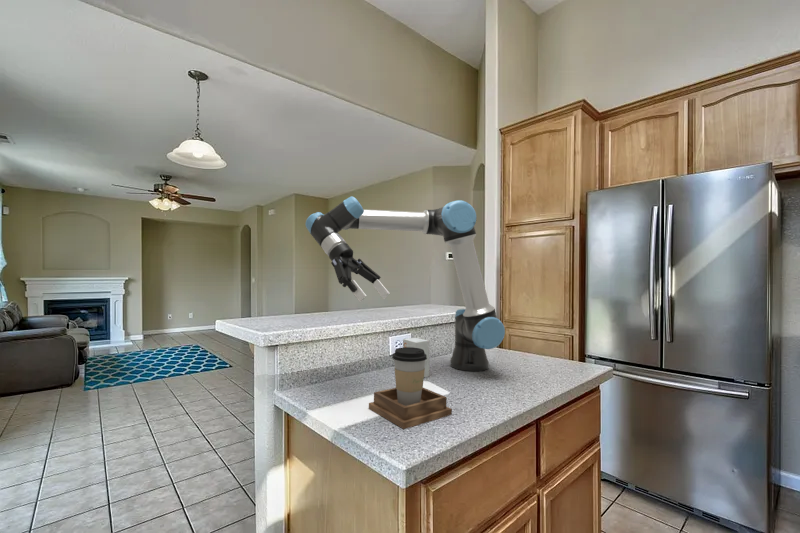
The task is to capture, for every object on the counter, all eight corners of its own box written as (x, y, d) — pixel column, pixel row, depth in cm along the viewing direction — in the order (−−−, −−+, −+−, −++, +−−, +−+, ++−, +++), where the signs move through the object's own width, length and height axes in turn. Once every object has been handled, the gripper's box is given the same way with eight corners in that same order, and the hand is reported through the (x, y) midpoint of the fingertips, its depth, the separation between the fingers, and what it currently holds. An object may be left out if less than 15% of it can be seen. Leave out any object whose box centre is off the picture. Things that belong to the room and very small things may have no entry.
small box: (429, 376, 132) (430, 340, 132) (415, 379, 128) (416, 342, 129) (415, 371, 139) (416, 337, 139) (402, 374, 135) (402, 338, 135)
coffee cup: (423, 414, 93) (424, 355, 94) (387, 410, 95) (388, 352, 96) (428, 401, 103) (429, 347, 103) (395, 398, 105) (396, 345, 105)
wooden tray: (414, 397, 110) (414, 382, 110) (451, 414, 97) (451, 397, 97) (368, 408, 101) (368, 392, 101) (403, 429, 88) (403, 410, 88)
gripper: (353, 259, 133) (388, 302, 126) (305, 256, 111) (344, 309, 104) (365, 244, 131) (402, 288, 123) (318, 238, 109) (359, 291, 102)
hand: (375, 297), depth 114 cm, fingers open, 13 cm apart
